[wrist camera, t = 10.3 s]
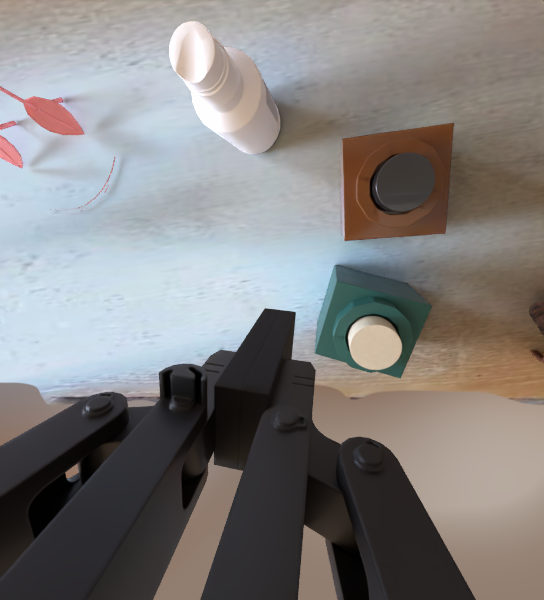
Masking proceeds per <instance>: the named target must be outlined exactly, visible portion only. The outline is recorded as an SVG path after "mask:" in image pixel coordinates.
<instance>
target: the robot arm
mask: <svg viewBox="0 0 544 600" xmlns="http://www.w3.org/2000/svg"><path fill="white" fill-rule="evenodd" d="M295 315H296V312H291V311H283V310H275V309H266V308H265V309H264V311H263V312H262V314H261V315H260V317H259V318H258V320H257V321H256V323H255V324H254V326H253V327H252V329H251V330H250V332H249V333H248V335H247V336H246V338H245V340H244V341H243V343H242V344H241V346H240V347H239V349H238V350H237V352H231V351H225V350H220V351H218V352H216V353H214V354H213V355H211V356H210V357H209V358H208V360H207V361H206V362H205V364H203V366H202V367H201V366H197V365H194V364H178V365H173V366H170V367H168V368H165V369H164V370H162V371H161V372H159V383H160V400H159V401H158V402H157V403H156V405H155V406H147V407H128V404H127V399H126V397H125V396H123V395H122V394H120V393H115V392H105V393H100V394H96V395H92V396H90V397H88V398H85V399H83V400H81V401H79V402H78V403H76V404H74V405H72V406H71V407H69V408H67V409H65V410H63V411H62V412H60V413H58V414H56V415H55V416H53V417H51V418H49V419H48V420H46V421H44V422H42V423H41V424H39V425H37V426H35V427H33V428H32V429H30V430H28V431H26V432H25V433H23V434H21V435H19V436H18V437H16V438H14V439H12V440H10V441H9V442H7V443H5V444H3V445H1V446H0V600H153V598H154V596H155V594H156V591H157V589H158V587H159V585H160V583H161V580H162V578H163V576H164V574H165V571H166V569H167V567H168V565H169V563H170V560H171V558H172V556H173V554H174V552H175V549H176V547H177V545H178V543H179V541H180V538H181V536H182V534H183V532H184V529H185V527H186V525H187V523H188V521H189V518H190V516H191V514H192V512H193V509H194V507H195V505H196V503H197V500H198V498H199V496H200V494H201V491H202V489H203V487H204V485H205V482H206V479H207V476H208V462H209V460H210V458H211V456H212V454H213V452H214V465H219V466H223V467H228V468H232V469H237V470H242V471H243V473H242V476H241V479H240V482H239V485H238V488H237V491H236V494H235V497H234V500H233V503H232V506H231V509H230V512H229V516H228V518H227V521H226V524H225V527H224V531H223V533H222V536H221V540H220V542H219V545H218V548H217V551H216V554H215V557H214V561H213V563H212V566H211V569H210V572H209V575H208V578H207V582H206V585H205V588H204V590H203V594H202V596H201V600H298V589H299V577H300V564H301V551H302V540H303V527H304V525H306V526H307V527H309V528H310V529H312V530H314V531H315V532H317V533H318V534H320V535H322V536H323V537H325V539H326V546H327V551H328V555H329V560H330V565H331V570H332V575H333V580H334V585H335V589H336V595H337V599H338V600H476V599H475V597H474V596H473V594H472V592H471V590H470V588H469V587H468V585H467V583H466V581H465V580H464V578H463V576H462V574H461V572H460V570H459V569H458V567H457V565H456V563H455V562H454V560H453V558H452V556H451V554H450V553H449V551H448V549H447V547H446V545H445V544H444V542H443V540H442V538H441V537H440V535H439V533H438V531H437V529H436V527H435V526H434V524H433V522H432V520H431V518H430V517H429V515H428V513H427V511H426V509H425V508H424V506H423V504H422V502H421V501H420V499H419V497H418V495H417V493H416V492H415V490H414V488H413V486H412V485H411V483H410V481H409V479H408V478H407V475H406V474H405V472H404V470H403V468H402V466H401V465H400V463H399V461H398V459H397V458H396V457H395V456H394V454H393V453H392V452H391V450H389V449H388V448H387V447H385V446H384V445H383V444H381V443H379V442H377V441H375V440H372V439H370V438H364V437H354V438H349V439H347V440H346V441H345V442H343V443H342V444H339V443H337V442H335V441H333V440H331V439H329V438H327V437H326V436H324V435H323V434H322V433H320V432H319V431H318V429H317V428H316V427H315V425H314V423H313V421H312V407H313V396H314V383H315V371H316V370H315V369H314V367H313V366H312V364H311V362H304V361H298V360H291V357H292V347H293V336H294V326H295ZM76 464H77V465H78V470H79V473H78V474H76V475H74V476H73V477H71V478H66V474H65V472H66V471H67V470H69V469H70V468H72V467H73V466H74V465H76Z"/></svg>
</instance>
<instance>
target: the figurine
mask: <svg viewBox="0 0 544 600" xmlns="http://www.w3.org/2000/svg"><path fill="white" fill-rule="evenodd" d="M0 90H1V91H3V92H4V93H6V94H8V95H10V96H11V97H13V98H15V99H17V100H19V101H20V102H22V103H23V104H24V107H25V109H26V111H27V114H28V115H29V116H30V117H31V118H32V119H33V120H35V121H36V122H37V123H38V124H39V125H40V126H42V127H43V128H45V129H47V130H49V131H50V132H54V133H58V134H62V135H82V134H84V132H83V130H82V128H81V127H80V125H79V124H78V122H77V121H76V120H75V118H74V117H73V116H72V114H71V113H70V112H69V111H67V110H66V109H65V108H64V107H63V106H62V105H60V104H58V103H61V102H63V99H62V98H57V99H53V100H48V99H44V98H39V97H35V96H33V97H31V98H28V99H25V100H23V99H21V98H20V97H18V96H16V95H15V94H13V93H11V92H9V91H8V90H6V89H4V88H2V87H1V86H0ZM14 125H16V122H15V121H10V122H7V123H4V124H1V125H0V130H2V129H5V128H8V127H11V126H14ZM20 157H21V155H20V154H19V152H18V151H17V150H16V148H15V147H14V146H13V145H12V144H11V143H10V142H9V141H8V140H6V139H5V138H4V137H2V136H1V135H0V158H2V159H4V160H6V161H8V162H9V163H11V164H13V165H15V166H18V167H20V168H22V167H23V162H21V161H22V158H20ZM114 161H115V158H114ZM17 164H19V165H17ZM113 165H114V162H113ZM112 170H113V167H112ZM112 170H111V172H112ZM110 175H111V173H110ZM110 175H109V177H110ZM108 180H109V178H108ZM108 180H107V182H108ZM107 182H106V183H107ZM105 185H106V184H105ZM105 185H104V187H105ZM108 186H109V185H108ZM104 187H103V188H104ZM107 188H108V187H107ZM102 190H103V189H102ZM102 190H101V191H102ZM106 190H107V189H106ZM106 190H105V192H106ZM101 191H100V192H101ZM105 192H104V193H105ZM98 195H99V194H98ZM98 195H97V196H98ZM97 196H96V197H97ZM96 197H95V198H96ZM95 198H94V199H95ZM91 201H92V200H91ZM91 201H90V202H91ZM90 202H89V203H90ZM87 204H88V203H87ZM79 208H80V207H79ZM50 210H51V209H50ZM57 211H58V210H57ZM66 211H67V210H66ZM81 211H82V210H81Z"/></svg>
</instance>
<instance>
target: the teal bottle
mask: <svg viewBox="0 0 544 600" xmlns="http://www.w3.org/2000/svg"><path fill="white" fill-rule="evenodd" d="M431 307H432V305H430V304H429V303H428V302H427V301H426V300H425V299H424V298H423V297H422V296H421V295H419V294H418V293H417V292H416V291H415V290H414V289H413V288H412V287H411V286H409V285H408V284H407V283H404V282H400V281H396V280H392V279H389V278H385V277H381V276H377V275H373V274H369V273H365V272H361V271H357V270H353V269H349V268H345V267H342V266H338V265H335V266H334V269H333V272H332V276H331V279H330V282H329V286H328V289H327V292H326V296H325V299H324V302H323V306H322V309H321V312H320V316H319V319H318V322H317V333H316V343H315V354H318V355H322V356H325V357H329V358H332V359H336V360H339V361H343V362H346V363H347V364H348V365H349V366H350V367H352V368H356V369H359V370H363V371H366V372H370V373H371V372H380V373H384V374H387V375H391V376H394V377H398V378H401V376H402V374H403V371H404V369H405V367H406V364H407V362H408V360H409V358H410V355H411V353H412V351H413V348H414V346H415V344H416V342H417V339H418V337H419V335H420V332H421V330H422V328H423V325H424V323H425V321H426V319H427V316H428V314H429V312H430V309H431ZM366 316H379V317H382V318H384V319H386V320H388V321H389V322H390V323H391V324H392V325H393V327H394V329H395V330H396V332H397V334H398V336H399V337H400V339H401V343H402V352H401V355H400V357H399V358H398V360H397V361H396V362H395V363H394V364H393V365H391V366H390V367H388V368H385V369H381V370H370V369H366V368H364V367H362V366H360V365H359V364H357V363H356V362H355V361H354V359H353V358H352V356H351V353H350V348H349V341H348V333H349V330H350V328H351V326H352V325H353V324H354V323H355V322H356V321H357V320H359V319H361V318H363V317H366Z"/></svg>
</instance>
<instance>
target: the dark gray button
mask: <svg viewBox="0 0 544 600" xmlns="http://www.w3.org/2000/svg"><path fill="white" fill-rule="evenodd" d="M434 184H435V172H434V168H433V166H432V164H431V163H430V161H429V160H428V159H427V158H425V157H424V156H422V155H420V154H418V153H412V152H407V153H402V154H398V155H396V156H394V157H393V158H391V159H390V160H388V161H387V162H386V163H385V164H384V165H383V166H382V167H381V168H380V169H379V170H378V171H377V173H376V175H375V177H374V179H373V183H372V193H373V197H374V199H375V201H376V202H377V204H378V205H379V206H380V207H382V208H383V209H385V210H388V211H392V212H405V211H410V210H413V209H415V208H417V207H419V206H420V205H421V204H423V203H424V202H425V201H426V200H427V199H428V197H429V196H430V194H431V192H432V190H433V188H434Z"/></svg>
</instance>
